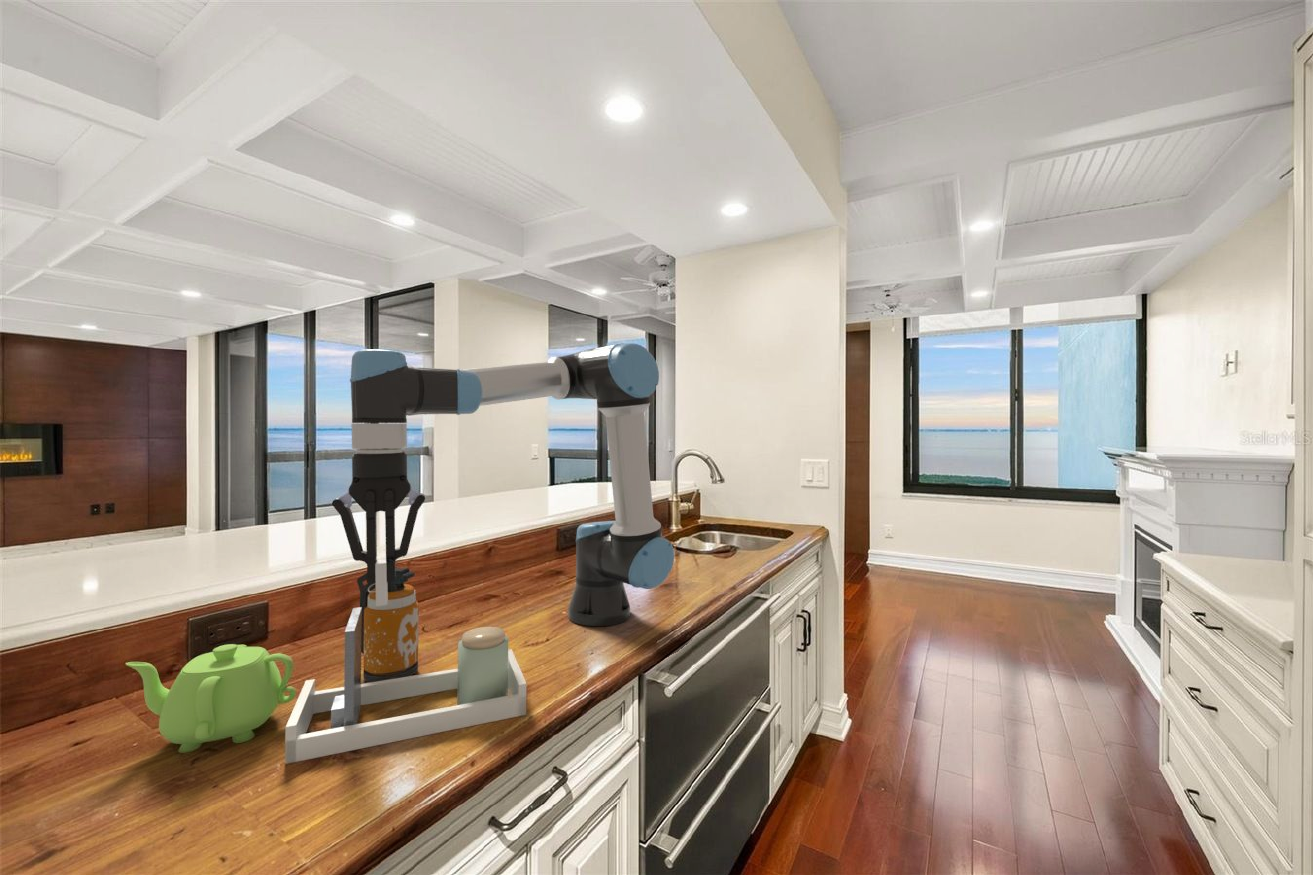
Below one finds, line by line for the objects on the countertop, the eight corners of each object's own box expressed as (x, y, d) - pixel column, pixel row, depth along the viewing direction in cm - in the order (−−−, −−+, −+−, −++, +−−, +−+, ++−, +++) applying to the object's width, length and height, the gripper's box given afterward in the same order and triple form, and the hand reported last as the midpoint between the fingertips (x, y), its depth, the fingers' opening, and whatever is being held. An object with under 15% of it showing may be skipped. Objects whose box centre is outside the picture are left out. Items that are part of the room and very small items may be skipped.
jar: (503, 685, 94) (504, 623, 94) (511, 707, 86) (512, 639, 86) (455, 694, 90) (456, 629, 90) (459, 717, 83) (460, 647, 83)
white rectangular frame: (511, 676, 97) (511, 649, 97) (526, 714, 84) (526, 683, 84) (305, 711, 84) (305, 680, 84) (285, 764, 71) (285, 727, 71)
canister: (396, 689, 92) (397, 574, 91) (341, 682, 94) (342, 570, 94) (428, 667, 100) (429, 562, 100) (377, 661, 103) (378, 558, 102)
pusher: (360, 705, 86) (361, 607, 86) (353, 741, 76) (354, 630, 76) (337, 709, 84) (338, 609, 84) (327, 746, 75) (328, 633, 74)
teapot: (171, 781, 67) (171, 683, 67) (124, 748, 74) (124, 659, 74) (304, 720, 82) (305, 639, 81) (255, 697, 88) (255, 622, 88)
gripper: (425, 449, 88) (427, 590, 88) (334, 451, 82) (336, 601, 83) (426, 451, 81) (427, 604, 81) (326, 453, 75) (329, 617, 76)
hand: (381, 602), depth 82 cm, fingers closed
